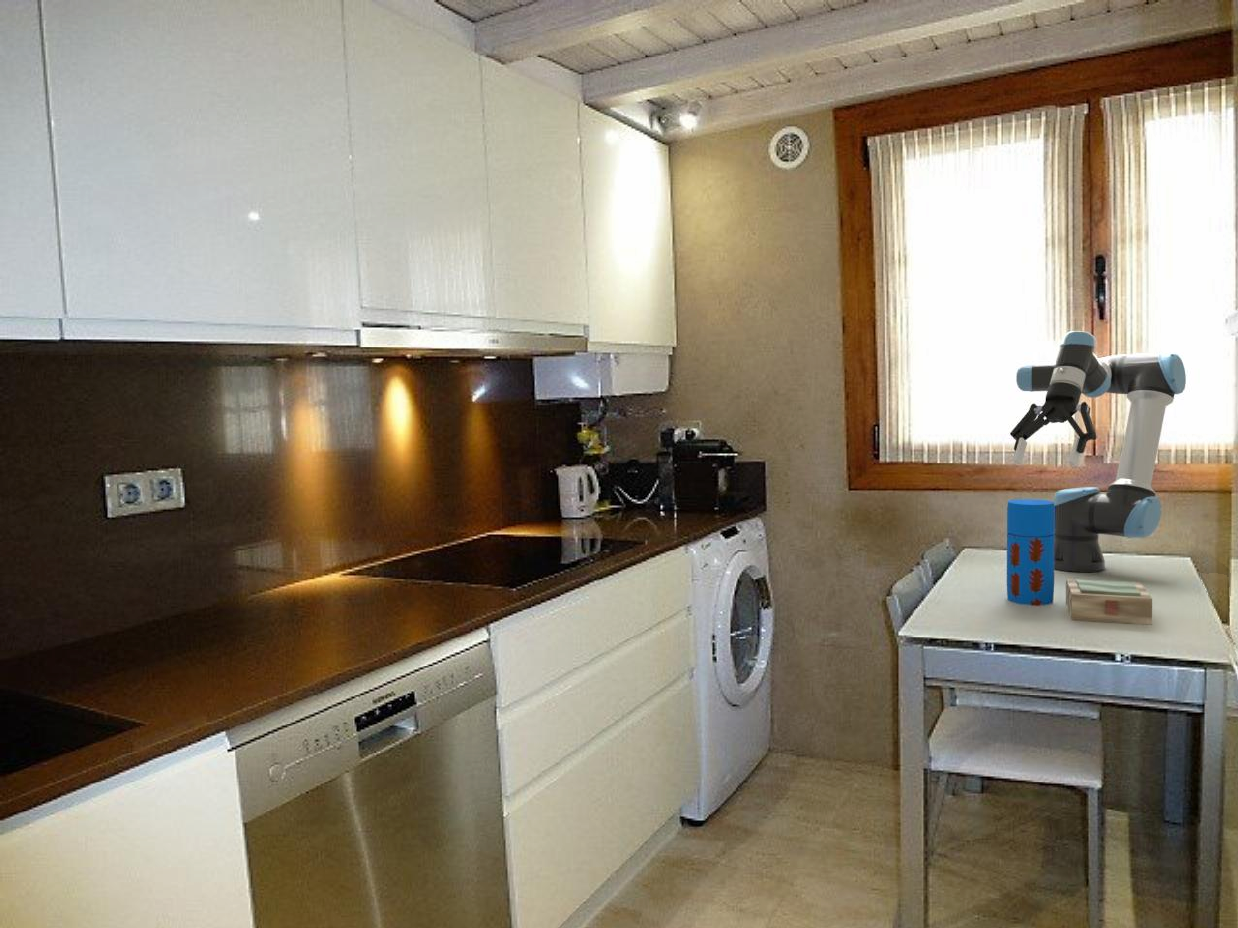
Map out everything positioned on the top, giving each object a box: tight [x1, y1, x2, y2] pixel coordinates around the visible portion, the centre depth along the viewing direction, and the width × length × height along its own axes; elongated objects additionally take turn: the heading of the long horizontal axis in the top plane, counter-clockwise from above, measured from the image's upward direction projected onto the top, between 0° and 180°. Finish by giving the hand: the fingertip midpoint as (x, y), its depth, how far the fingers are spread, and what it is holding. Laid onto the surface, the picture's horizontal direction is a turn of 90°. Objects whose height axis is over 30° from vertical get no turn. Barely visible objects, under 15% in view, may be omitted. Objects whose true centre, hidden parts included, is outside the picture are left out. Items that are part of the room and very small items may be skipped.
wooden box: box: [1065, 578, 1153, 626], centre depth 208 cm, size 17×16×7 cm
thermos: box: [1006, 498, 1055, 606], centre depth 222 cm, size 11×11×25 cm
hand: (1043, 463), depth 215 cm, fingers open, 13 cm apart
